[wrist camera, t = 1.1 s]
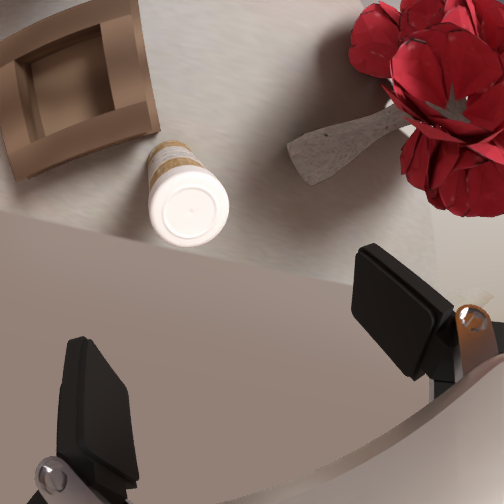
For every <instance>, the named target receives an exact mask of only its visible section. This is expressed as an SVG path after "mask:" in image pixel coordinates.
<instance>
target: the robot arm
mask: <svg viewBox="0 0 504 504" xmlns="http://www.w3.org/2000/svg"><path fill="white" fill-rule="evenodd" d="M453 308H454V305H452V304H451V303H450V302H449V301H448V300H447V299H445V298H444V297H443V296H442V295H441V294H439V293H438V292H437V291H436V290H435V289H433V288H432V287H431V286H430V285H428V284H427V283H426V282H425V281H424V280H422V279H421V278H420V277H419V276H417V275H416V274H415V273H414V272H412V271H411V270H410V269H408V268H407V267H406V266H405V265H403V264H402V263H401V262H399V261H398V260H397V259H396V258H394V257H393V256H392V255H390V254H389V253H388V252H386V251H385V250H384V249H382V248H381V247H380V246H378V245H377V244H375V243H372V244H369V245H366V246H364V247H361V248H360V249H359V250H358V253H357V254H356V256H355V270H354V283H353V295H352V305H351V311H352V314H353V316H354V317H355V319H356V320H357V321H358V322H359V323H360V324H361V325H362V327H363V328H364V329H365V330H366V331H367V332H368V333H369V334H370V336H371V337H372V338H373V339H374V340H375V341H376V342H377V343H378V345H379V346H380V347H381V348H382V349H383V350H384V351H385V353H386V354H387V355H388V356H389V357H390V358H391V360H392V361H393V362H394V363H395V364H396V366H397V367H398V368H399V369H400V370H401V371H402V373H403V374H404V375H405V376H407V377H409V376H410V377H411V378H412V379H413V381H416V380H417V379H419V378H420V377H421V376H423V375H424V374H425V373H426V374H427V375H428V376H429V404H428V405H426V406H425V407H424V408H422V409H421V410H420V411H418V412H417V413H415V414H414V415H412V416H411V417H409V418H408V419H406V420H405V421H403V422H402V423H400V424H399V425H397V426H396V427H394V428H393V429H391V430H389V431H388V432H386V433H384V434H383V435H381V436H379V437H378V438H376V439H374V440H373V441H371V442H369V443H367V444H366V445H364V446H362V447H360V448H358V449H357V450H355V451H353V452H351V453H349V454H347V455H345V456H343V457H341V458H339V459H337V460H335V461H333V462H331V463H329V464H327V465H325V466H323V467H320V468H318V469H316V470H314V471H311V472H309V473H307V474H305V475H302V476H300V477H297V478H295V479H293V480H290V481H287V482H284V483H282V484H279V485H276V486H274V487H271V488H268V489H265V490H262V491H259V492H256V493H253V494H250V495H247V496H243V497H240V498H237V499H233V500H230V501H226V502H222V503H218V504H504V323H502V322H493V321H491V319H490V317H489V315H488V314H487V312H486V311H485V310H483V309H482V308H481V307H478V306H476V305H471V304H468V305H463V306H461V307H459V308H458V309H457V311H456V313H455V312H454V311H453ZM56 455H57V457H56V456H50V457H47V458H45V459H43V460H42V461H41V462H40V463H39V465H38V466H37V468H36V471H35V482H36V486H37V488H38V491H37V492H36V493H35V494H34V495H33V497H32V498H31V499H30V501H29V502H28V503H27V504H133V503H132V502H131V501H130V500H128V499H127V493H126V489H133V488H137V484H136V481H138V480H139V472H138V467H137V461H136V454H135V447H134V440H133V433H132V425H131V416H130V406H129V395H128V391H127V388H126V387H125V385H124V384H123V382H122V381H121V380H120V379H119V377H118V376H117V375H116V373H115V372H114V371H113V369H112V368H111V367H110V365H109V364H108V362H107V361H106V360H105V358H104V357H103V355H102V354H101V353H100V351H99V350H98V348H97V347H96V345H95V344H94V342H93V341H92V340H91V339H88V340H87V338H86V337H84V336H82V337H79V338H75V339H71V340H69V341H68V343H67V349H66V355H65V362H64V370H63V378H62V384H61V387H60V394H59V405H58V420H57V453H56Z"/></svg>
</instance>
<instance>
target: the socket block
mask: <svg viewBox="0 0 504 504" xmlns="http://www.w3.org/2000/svg"><path fill="white" fill-rule="evenodd" d="M0 128H1V132H2V136H3V140H4V144H5V147H6V151H7V154H8V158H9V161H10V164H11V168H12V171H13V174H14V177H15V180H16V182H17V181H19V180H21V179H23V178H25V177H28V179H30V178H32V177H34V176H36V175H39V174H41V173H43V172H45V171H48V170H50V169H52V168H55V167H57V166H60V165H62V164H64V163H67V162H69V161H72V160H74V159H77V158H80V157H82V156H85V155H88V154H90V153H93V152H96V151H99V150H102V149H104V148H107V147H110V146H113V145H116V144H119V143H122V142H126V141H129V140H132V139H135V138H139V137H142V136H145V135H149V134H152V133H156V132H160V131H161V129H160V124H159V119H158V115H157V110H156V105H155V100H154V95H153V90H152V85H151V80H150V74H149V69H148V63H147V57H146V51H145V45H144V39H143V33H142V26H141V20H140V13H139V5H138V0H91V1H88V2H85V3H82V4H80V5H77V6H74V7H72V8H69V9H66V10H64V11H61V12H59V13H57V14H54V15H52V16H50V17H47V18H45V19H43V20H41V21H39V22H37V23H34V24H32V25H30V26H28V27H26V28H24V29H22V30H21V31H19V32H17V33H15V34H13V35H11V36H10V37H8V38H6V39H4V40H3V41H1V42H0Z"/></svg>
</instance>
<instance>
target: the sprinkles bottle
mask: <svg viewBox="0 0 504 504" xmlns="http://www.w3.org/2000/svg"><path fill="white" fill-rule="evenodd" d="M147 165H148V183H149V198H148V210H149V217H150V221H151V224H152V227H153V228H154V230H155V232H156V233H157V234H158V236H159V237H160V238H162V239H163V240H164V241H166V242H167V243H169V244H171V245H174V246H178V247H187V248H189V247H196V246H199V245H202V244H205V243H207V242H208V241H210V240H211V239H213V238H214V237H215V236H216V235H217V234H218V233H219V232H220V231H221V230H222V228H223V226H224V225H225V223H226V220H227V217H228V213H229V200H228V196H227V193H226V191H225V189H224V187H223V186H222V184H221V183H220V182H219V181H218V179H217V178H216V177H215V176H214V175H213V174H212V173H211V172H209V171H208V170H206V168H205V167H204V166H203V165H202V164H201V163H200V161H199V160H198V159H197V158H196V157H195V156H194V154H193V153H192V152H191V150H190V149H189V148H188V147H187V146H186V145H185V144H183V143H181V142H178V141H166V142H163V143H161V144H159V145H157V146H156V147H155V148H154V149H153V150H152V152H151V154H150V156H149V159H148V163H147Z"/></svg>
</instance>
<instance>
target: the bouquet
mask: <svg viewBox="0 0 504 504" xmlns="http://www.w3.org/2000/svg"><path fill="white" fill-rule="evenodd" d="M379 3H380V4H374V3H373V4H371V5H370V6H368V7H366V8H365V9H364V10H363V12H362V13H361V14H360V16H359V17H358V19H357V20H356V22H355V24H354V27H353V29H352V33H351V39H350V40H351V46H350V47H349V52H348V57H349V61H350V64H351V65H352V66H353V67H354V68H355V69H356V70H357V71H359V72H361V73H365V74H368V75H371V76H374V77H377V78H392V81H393V86H394V91H395V92H394V91H392V90H391V89H389V88H388V87H386V86H385V85H383V84H381V86H382V87H383V88H384V90H385V91H386V92H387V94H388V95H389V96H390V98H391V99H392V101H393V102H394V104H392V105H391V106H389V107H387V108H385V109H384V110H381V111H379V112H377V113H375V114H372V115H369V116H366V117H363V118H359V119H355V120H351V121H347V122H343V123H339V124H335V125H331V126H327V127H324V128H321V129H318V130H315V131H312V132H307V133H304V135H302V136H300V137H298V138H297V139H295V140H293V141H291V142H288V143H287V150H288V153H289V156H290V158H291V160H292V162H293V164H294V166H295V168H296V170H297V171H298V173H299V174H300V176H301V177H302V178H303V180H304V181H305V182H306V183H307V184H308V185H310V186H313V185H315V184H317V183H319V182H321V181H323V180H325V179H326V178H330V177H331V176H333V175H334V174H335V173H337V172H338V171H339V170H340V169H342V168H343V167H344V166H346V165H347V164H348V163H349V162H351V161H352V160H353V159H354V158H356V157H357V156H358V155H359V154H360V153H362V152H363V151H364V150H365V149H366V148H368V147H369V146H370V145H371V144H373V143H374V142H375V141H377V140H378V139H380V138H381V137H383V136H384V135H386V134H388V133H390V132H392V131H394V130H396V129H399V128H401V127H404V126H407V125H410V124H412V125H414V126H415V127H416V130H415V131H414V133H413V134H412V135H411V136H410V138H409V139H408V140H407V142H406V143H405V145H404V146H403V147H402V149H401V150H402V154H401V156H400V162H401V174H402V175H403V174H406V177H407V181H408V182H409V183H410V184H411V185H413V186H414V187H416V188H418V189H421V190H423V191H425V192H426V195H427V199H428V202H429V203H431V204H432V205H433V206H434V207H435V208H437V209H441V210H445V209H448V210H449V211H450V212H452V213H453V214H454V215H457V216H461V217H464V216H466V217H476V216H480V217H495V216H499V215H502V214H504V5H503V4H502V3H500V2H498V1H496V0H402V1H401V4H400V11H401V13H400V12H398V11H397V10H396V9H395V8H394V7H391V6H389V5H387V4H386V3H384V2H381V1H379ZM467 96H468V99H467V100H466V98H465V97H467ZM420 122H422V123H420ZM432 126H433V127H432ZM440 126H441V127H440Z"/></svg>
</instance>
